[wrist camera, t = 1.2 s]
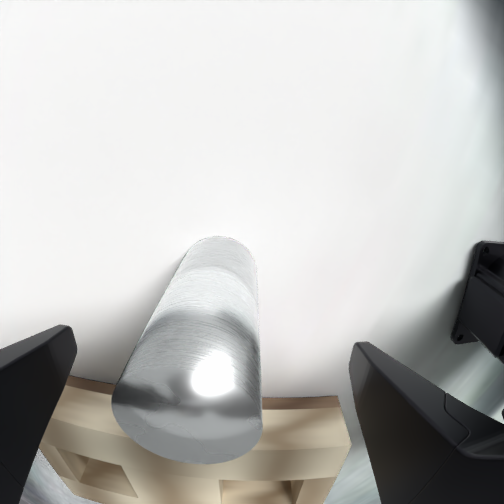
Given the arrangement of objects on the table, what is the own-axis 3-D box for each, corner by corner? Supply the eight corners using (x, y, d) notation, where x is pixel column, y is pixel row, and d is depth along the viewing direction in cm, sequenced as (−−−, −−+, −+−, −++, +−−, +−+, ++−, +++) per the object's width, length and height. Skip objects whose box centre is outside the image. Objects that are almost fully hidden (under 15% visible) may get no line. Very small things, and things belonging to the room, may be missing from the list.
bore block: (337, 395, 17) (351, 445, 14) (307, 485, 21) (312, 522, 18) (39, 368, 17) (12, 404, 13) (86, 462, 21) (73, 494, 17)
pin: (258, 237, 14) (267, 373, 6) (255, 306, 15) (258, 467, 7) (180, 234, 14) (95, 357, 6) (184, 303, 15) (129, 454, 7)
